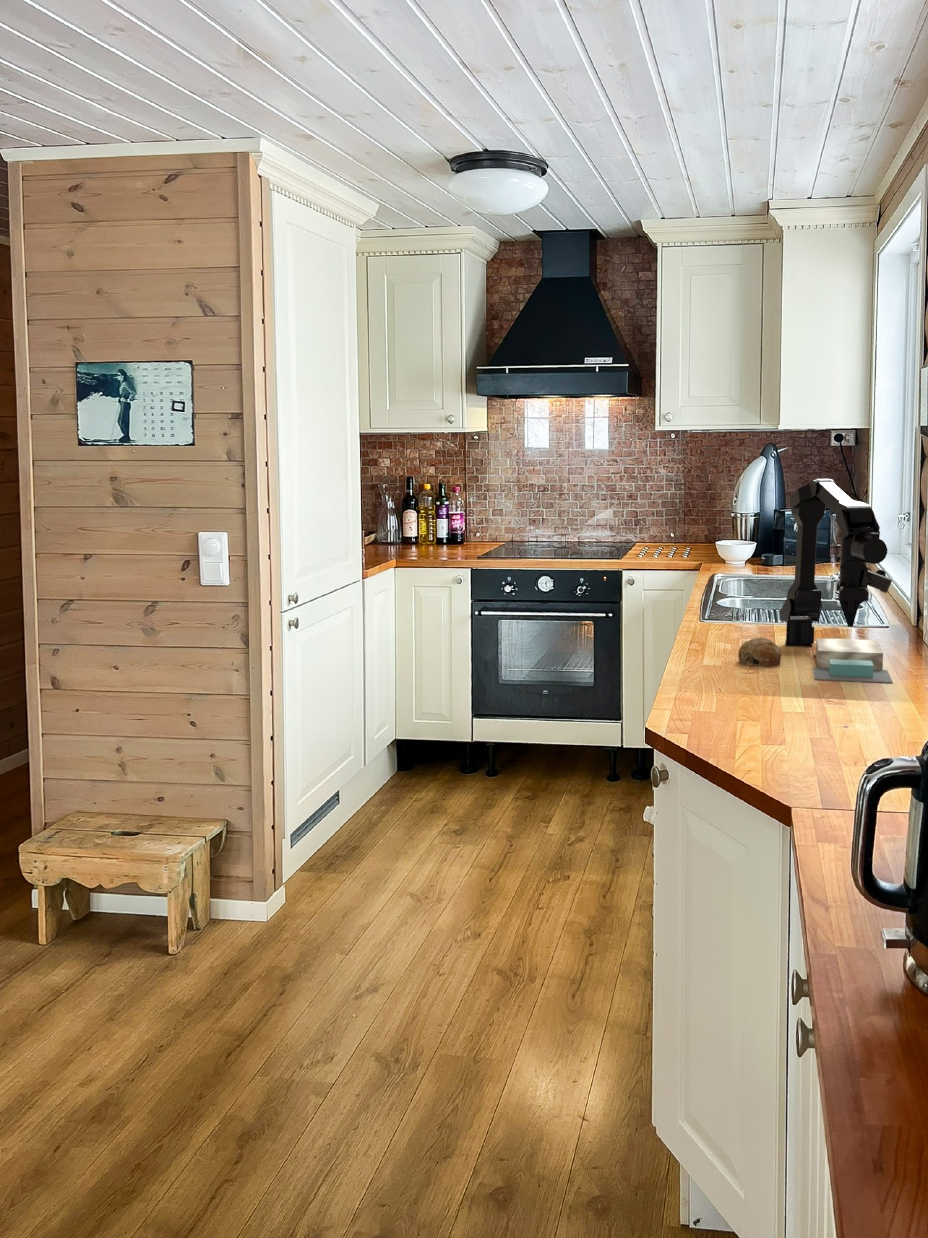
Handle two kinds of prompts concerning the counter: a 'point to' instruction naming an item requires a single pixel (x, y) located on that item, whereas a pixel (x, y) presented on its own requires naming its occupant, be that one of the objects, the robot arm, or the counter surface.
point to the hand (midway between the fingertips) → (850, 626)
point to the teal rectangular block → (851, 667)
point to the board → (848, 651)
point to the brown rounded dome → (760, 653)
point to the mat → (878, 676)
